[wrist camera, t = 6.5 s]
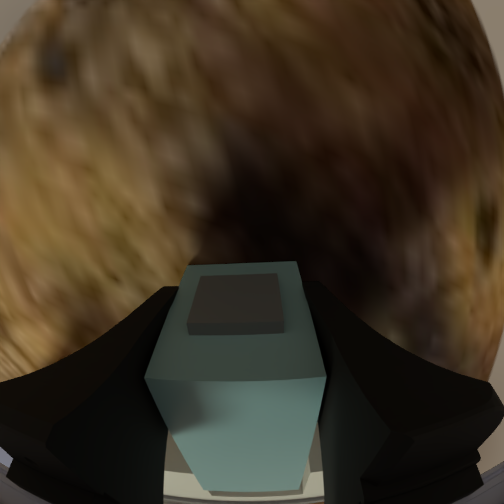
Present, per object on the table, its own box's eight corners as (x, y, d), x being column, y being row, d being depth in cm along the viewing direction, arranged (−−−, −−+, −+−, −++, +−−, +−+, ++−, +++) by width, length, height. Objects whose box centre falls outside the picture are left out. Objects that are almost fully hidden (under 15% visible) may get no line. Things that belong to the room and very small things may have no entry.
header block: (366, 415, 15) (380, 464, 12) (347, 456, 18) (354, 496, 15) (143, 420, 16) (130, 469, 12) (169, 461, 18) (162, 500, 15)
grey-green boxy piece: (296, 251, 11) (328, 363, 6) (289, 396, 14) (298, 489, 9) (185, 255, 11) (139, 366, 6) (213, 398, 14) (203, 489, 9)
